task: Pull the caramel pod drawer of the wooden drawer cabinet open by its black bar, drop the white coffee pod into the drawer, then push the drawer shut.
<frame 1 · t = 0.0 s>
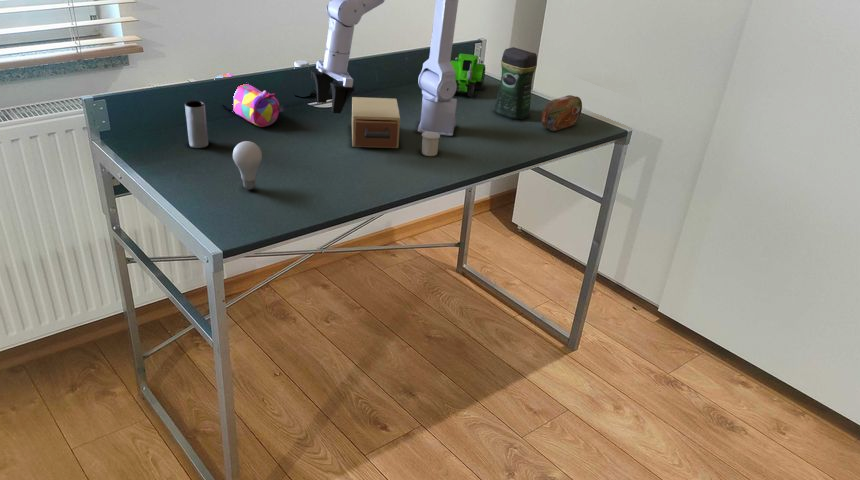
hand: (328, 107, 176), 11 cm above the table, tool pointing down, fingers open, 7 cm apart
tin: (558, 127, 206), on the table
wooden drawer cabinet: (374, 137, 190), on the table
pencil case: (247, 115, 196), on the table
pod drawer: (375, 129, 184), point 4 cm above the table, slide at 0.4 cm
coffee jar: (511, 115, 211), on the table
toy tractor: (463, 90, 226), on the table
lightbulb: (249, 190, 160), on the table
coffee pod: (429, 152, 184), on the table
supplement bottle: (302, 95, 212), on the table
planter: (199, 145, 178), on the table
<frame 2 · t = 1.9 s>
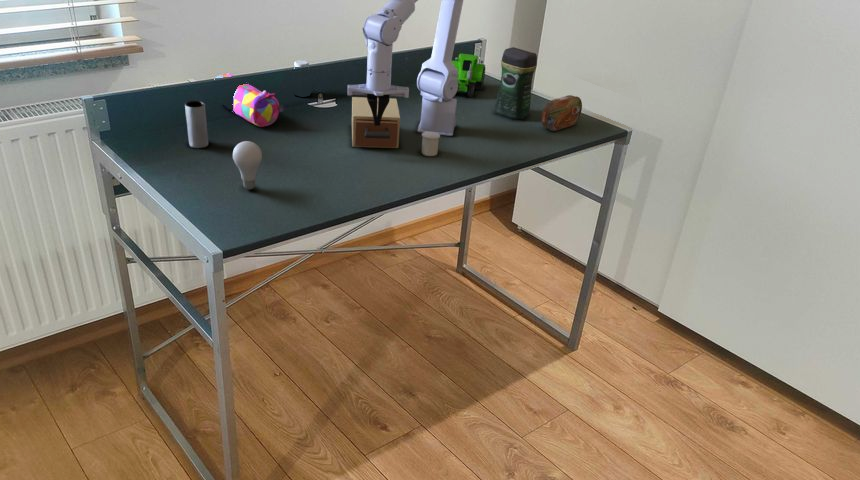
hand: (376, 124, 178), 7 cm above the table, tool pointing down, fingers closed, pressing on pod drawer
pod drawer: (375, 129, 184), point 4 cm above the table, slide at 0.4 cm, touching gripper
everything else where it was.
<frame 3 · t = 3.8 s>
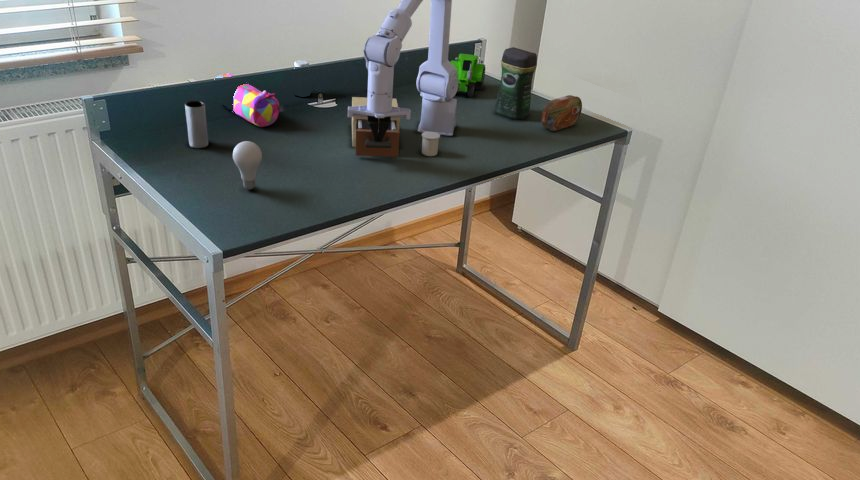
hand: (377, 146, 174), 4 cm above the table, tool pointing down, fingers closed, pressing on pod drawer
pod drawer: (376, 137, 179), point 4 cm above the table, slide at 6.2 cm, touching gripper
everything else where it was.
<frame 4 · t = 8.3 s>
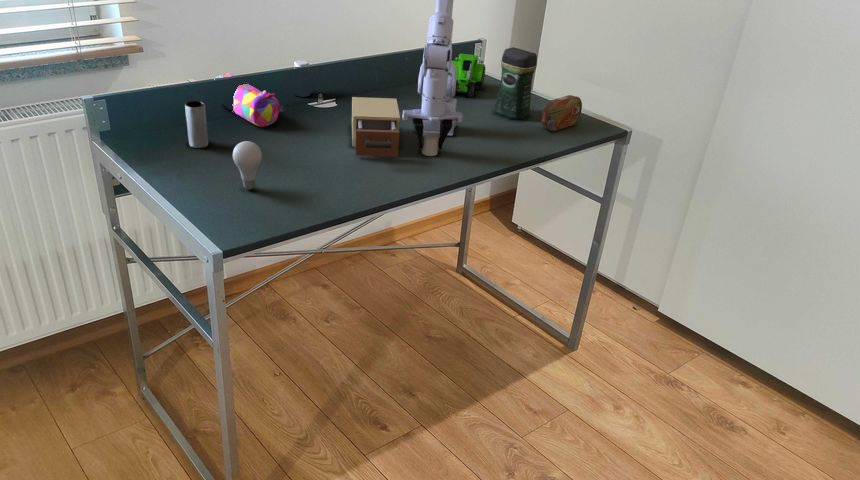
hand: (429, 147, 183), 1 cm above the table, tool pointing down, fingers closed on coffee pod, 4 cm apart
pod drawer: (376, 137, 179), point 4 cm above the table, slide at 6.2 cm
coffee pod: (429, 152, 184), on the table, touching gripper
everything else where it was.
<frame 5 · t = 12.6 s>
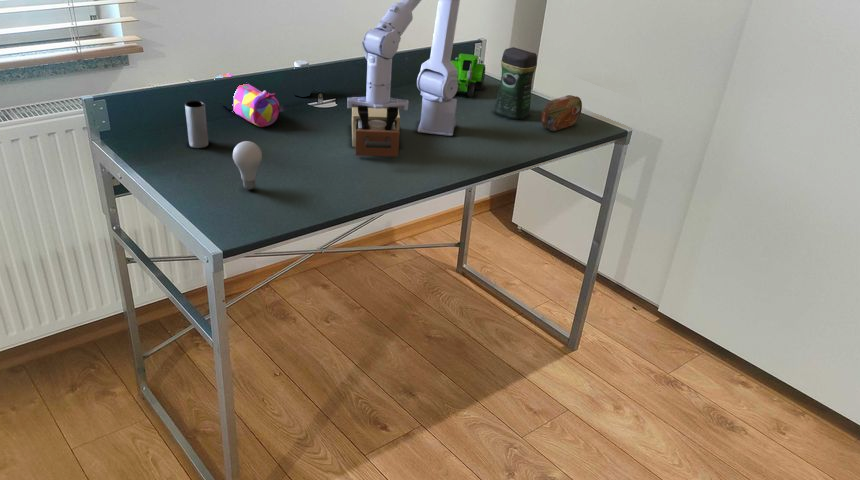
hand: (376, 136, 179), 4 cm above the table, tool pointing down, fingers closed on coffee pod, 4 cm apart
pod drawer: (376, 137, 179), point 4 cm above the table, slide at 6.2 cm, touching gripper
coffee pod: (376, 141, 180), point 3 cm above the table, touching gripper
everything else where it was.
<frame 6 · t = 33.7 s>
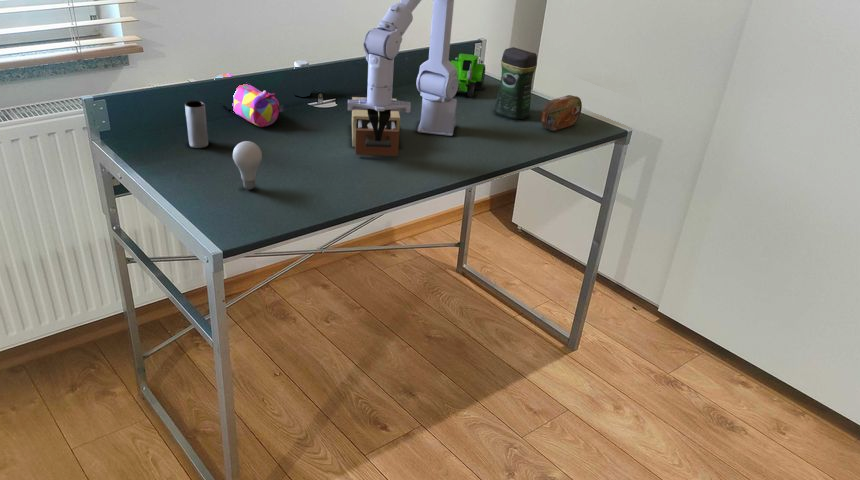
hand: (377, 139, 174), 6 cm above the table, tool pointing down, fingers closed, pressing on pod drawer
pod drawer: (376, 137, 179), point 4 cm above the table, slide at 5.6 cm, touching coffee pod, gripper
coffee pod: (376, 143, 181), point 2 cm above the table, touching pod drawer
everything else where it was.
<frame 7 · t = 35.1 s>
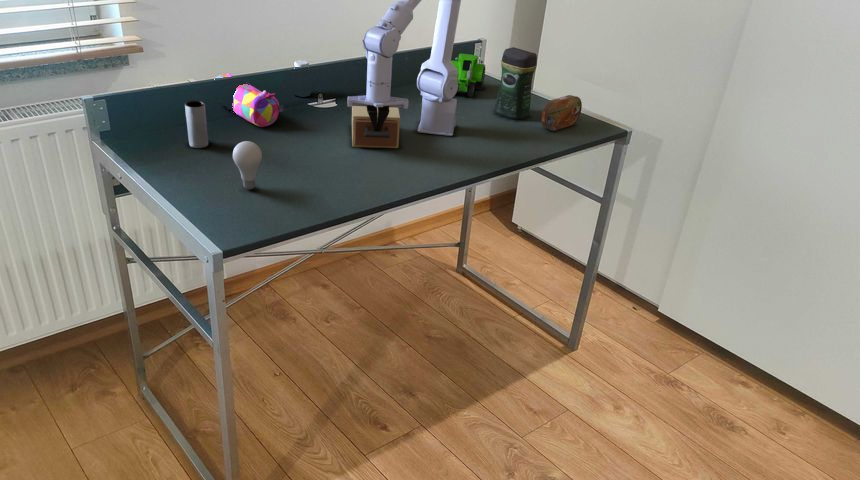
hand: (376, 135, 179), 4 cm above the table, tool pointing down, fingers closed, pressing on pod drawer
pod drawer: (375, 128, 184), point 4 cm above the table, slide at 0.0 cm, touching wooden drawer cabinet, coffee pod, gripper
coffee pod: (375, 135, 186), point 2 cm above the table, touching pod drawer
everything else where it was.
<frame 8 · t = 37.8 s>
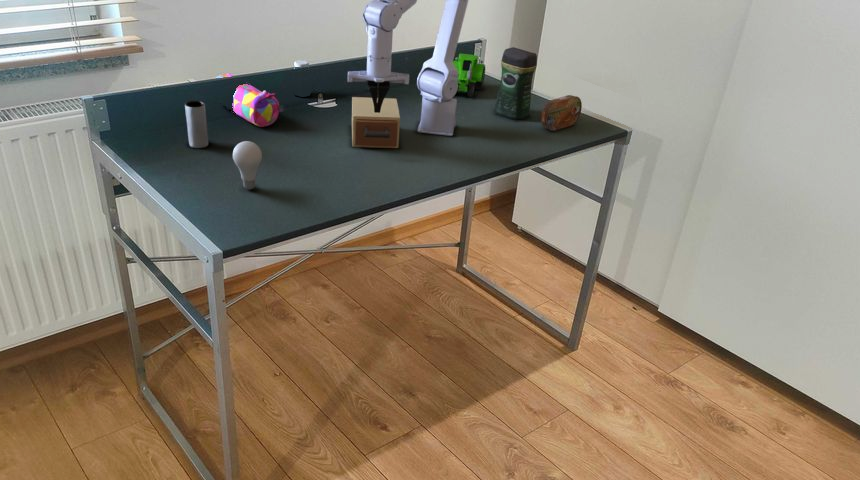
hand: (377, 111, 178), 10 cm above the table, tool pointing down, fingers closed
pod drawer: (375, 128, 184), point 4 cm above the table, slide at 0.0 cm, touching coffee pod
everything else where it was.
at the end: pod drawer pulled out 6.2 cm at the most during the clip, back to where it started at the end; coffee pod inside the target area in the wooden drawer cabinet (3.6 cm from its centre), point 2.0 cm above the wooden drawer cabinet's base; pod drawer slide at 0.0 cm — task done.
